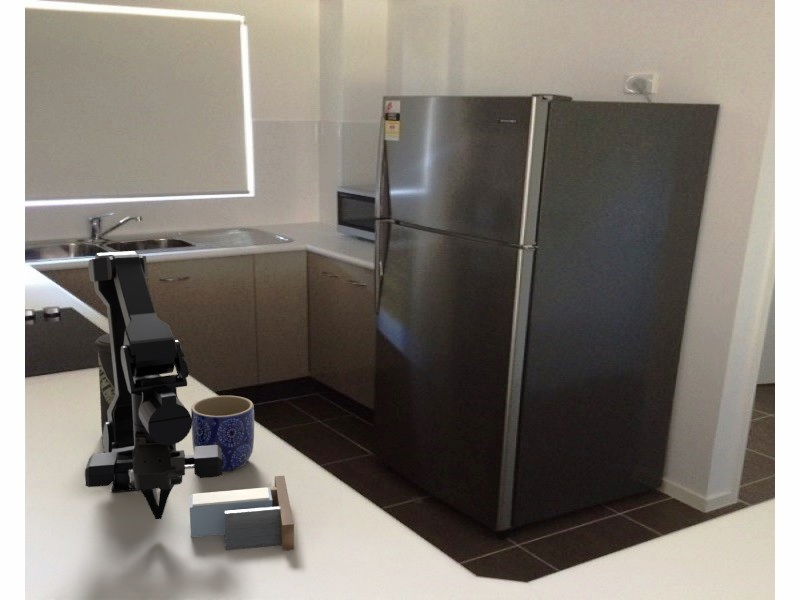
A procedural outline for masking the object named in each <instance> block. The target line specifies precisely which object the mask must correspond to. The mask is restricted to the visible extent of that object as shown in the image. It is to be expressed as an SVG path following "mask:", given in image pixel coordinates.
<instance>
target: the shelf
mask: <svg viewBox="0 0 800 600" xmlns="http://www.w3.org/2000/svg"><path fill="white" fill-rule="evenodd" d="M269 488H270V490H271V496H272V507H277V506H280V530H281V540H282V545H281V548H282V551H291V550H294V548H295V545H294V544H295V543H294V542H295V539H294V538H295V537H294V536H295V532H294V531H295V530H294V528H295V527H294V525H295V523H294V519H293V514H292V509H291V507H292V506H291V502H290V498H289V492H288V488H287V482H286V477H285V475H274V487H269Z"/></svg>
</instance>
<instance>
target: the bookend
mask: <svg viewBox="0 0 800 600" xmlns="http://www.w3.org/2000/svg"><path fill="white" fill-rule="evenodd" d="M224 536H225V550H226V551H230V550H232V551H233V550H240V549H241V550H242V549H243V550H244V549H251V548H263V547H274V546H282V540H281V530H280V506H277V507H265V508H253V509H242V510H230V511H225V534H224Z"/></svg>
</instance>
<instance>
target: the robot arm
mask: <svg viewBox="0 0 800 600" xmlns="http://www.w3.org/2000/svg"><path fill="white" fill-rule="evenodd" d="M87 263H88V266H87V267H88V276H89V280H90V283H92V282H93V285H94V286H93V287H94V292H95V294H96V296H98V298H99V299H100V300H101V301H102V303H103V304H104V305H105V306H106V312H107V322H108V332H109V333H108V334H110V344H111V354H112V363H113V373H114V383H115V396H114V398H113V400H112V402H111V404H110V406H109V408H108V410H107V416H108V422H105V425H104V430H103V435H102V434H101V435H102V436H101V437H102V444H103V449H104V451H105V452H97V453H96V452H95V453H93V454H91V456H90V457H89V458H88V462H87V464H86V466H85V469H84V470H85V471H84V479H85V481H84V482H85V487H88V488H96V487H97V488H98V487H109V486H110V485H111V484H112V485H111V488H110V489H111V492H113V493H114V492H126V491H127V492H129V491H140V492H141V494H142V495H143V497H144V499H145V500H146V503H147V504H148V506H149V508H150V510H151V514H152V516H153V517H154V520H157V521H158V520H162V519H163V514H164V511H165V508H166V505H167V502H168V498H169V495H170V493H171V492H172V489H173V488H174V487H175V486H176V485H177V486H178V485H180V484H181V485H182V482H183V477H184V476H185V475H186V469H187V470H188V469H193V470H194V474H195V476H197V477H198V478H199V479H211V478H219V477H221V476H223V472H222V452H221V448H220V447H219V446H218V445H208V446H195V451H194V450H193V453H194V454H185V450H177V447H176V446H177V445H176V444H179V443H180V442H182V441H183V440H185V438H187V436H188V434H189V433H190V432H191V430H192V428H191V427H192V418H191V412H190V411H189V410H188V408H186V406H185V405H184V404H183V403H182V401H181V400H180V399H179V397H178V393H177V392H178V391H177V388H183V387H187V386H188V380H187V378H188V377H189V374H190V372H189V369H188V368H189V367H188V363H187V360H186V356H185V352H184V348H183V347H182V346H181V344H180V341H179V340H178V339H175V336H174V333H173V332H172V329H171V327H170V325H169V324H167V322H165V321H163V320H161V319H160V318H159V317H158V314H157V311H156V308H155V305H154V301H153V298H152V295H151V291H150V289H149V285H148V282H147V279H146V278H149V274H148V264H147V255H142V254H138V253H136V251H134V250H132V251H116V252H114V251H113V252H111V251H110V252H96V253H95V256H94V258H92V259H89V260H88V262H87ZM174 370H175V371H176V374H173V373H174ZM164 374H166V375H164ZM167 374H169V375H167ZM157 489H159V499H158V494H157V493H158V492H157Z"/></svg>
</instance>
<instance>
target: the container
mask: <svg viewBox="0 0 800 600" xmlns="http://www.w3.org/2000/svg"><path fill="white" fill-rule="evenodd" d="M94 345H95V347H96V349H97V359H98V360H97V361H98V378H99V400H100V423H101V425H100V426H101V435H103V430H104V425H105V422H108V416H107V410H108V408H109V406H110V404H111V402H112V400H113V398H114V396H115V383H114V373H113V363H112V354H111V344H110V334H109V333H105V334H103V335H101V336H99V337H98V338H97V339H96V340H95V342H94Z"/></svg>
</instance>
